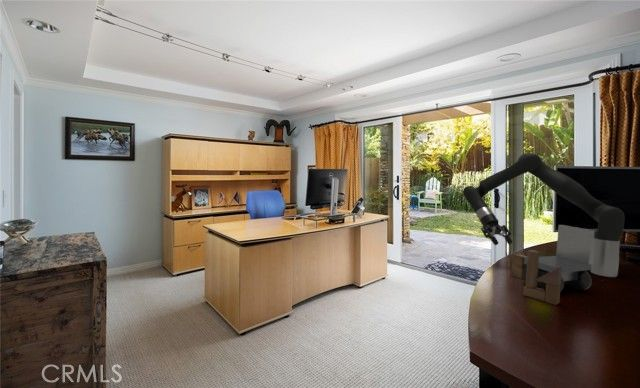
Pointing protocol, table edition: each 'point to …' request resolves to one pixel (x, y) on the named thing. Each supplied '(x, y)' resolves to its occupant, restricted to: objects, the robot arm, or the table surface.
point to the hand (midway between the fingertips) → (503, 243)
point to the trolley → (569, 258)
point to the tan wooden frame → (550, 278)
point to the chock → (518, 265)
